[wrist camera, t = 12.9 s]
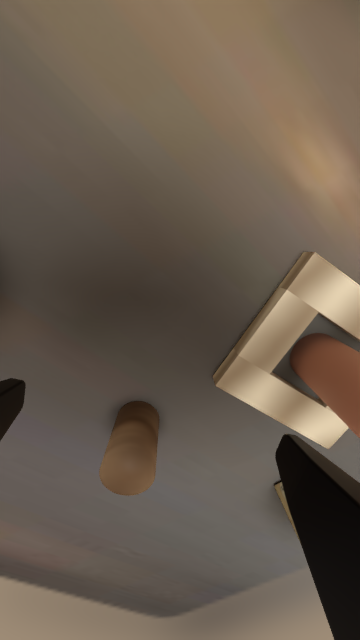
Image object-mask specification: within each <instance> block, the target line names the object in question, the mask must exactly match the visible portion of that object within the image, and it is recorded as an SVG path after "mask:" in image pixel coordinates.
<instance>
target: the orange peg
mask: <svg viewBox="0 0 360 640" xmlns="http://www.w3.org/2000/svg"><path fill="white" fill-rule="evenodd" d="M290 365H291V367H292V369H293V371H294V372H295V373H296V374H297V375H298V376H299V377H300V378H301V379H302V380H303V381H304V382H305V383H306V384H307V385H308V386H309V387H310V388H311V389H312V390H313V391H314V392H315V393H316V394H317V395H318V396H319V397H320V398H321V399H322V400H323V401H324V402H325V404H326V405H327V406H328V407H329V408H330V409H331V410H332V411H333V412H334V413H335V414H336V415H337V416H338V417H339V418H340V419H341V420H342V421H343V422H344V423H345V424H346V425H347V426H348V427H349V428H350V429H351V430H352V431H353V432H354V433H355V434H356V435H357V436H358V437H359V438H360V353H359V352H358V351H356V350H354V349H352V348H351V347H349V346H347V345H345V344H343V343H342V342H340V341H338V340H336V339H334V338H333V337H331V336H329V335H327V334H323V333H313V334H309V335H307V336H305V337H303V338H302V339H300V340H299V341H298V342H297V343H296V344H295V345H294V347H293V349H292V351H291V354H290Z"/></svg>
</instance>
